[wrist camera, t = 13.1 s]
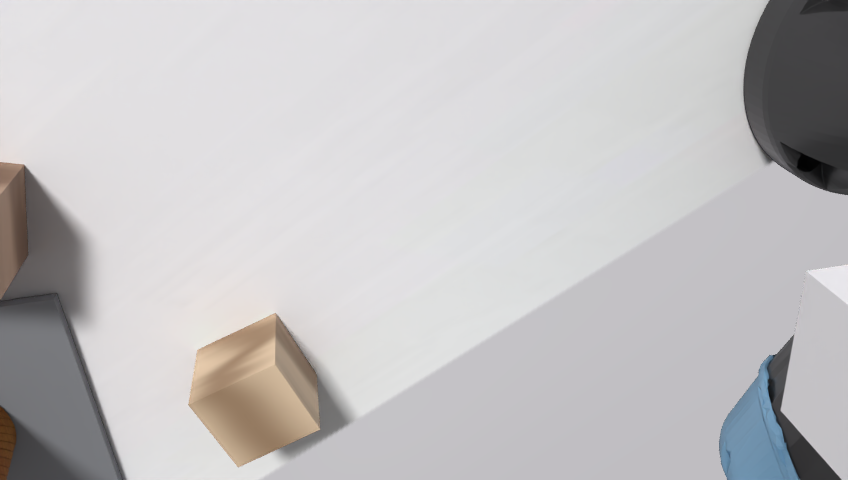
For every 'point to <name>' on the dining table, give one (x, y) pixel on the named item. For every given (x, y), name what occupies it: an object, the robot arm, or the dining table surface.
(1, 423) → the disposable coffee cup
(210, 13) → the dining table surface
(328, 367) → the dining table surface
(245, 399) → the block
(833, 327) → the robot arm
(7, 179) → the block
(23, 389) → the mat
